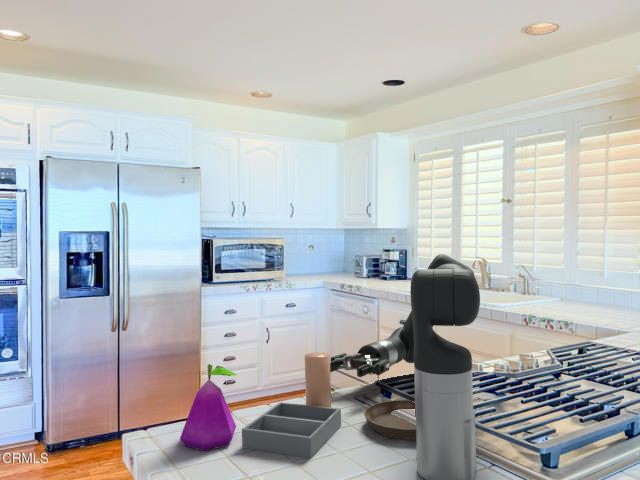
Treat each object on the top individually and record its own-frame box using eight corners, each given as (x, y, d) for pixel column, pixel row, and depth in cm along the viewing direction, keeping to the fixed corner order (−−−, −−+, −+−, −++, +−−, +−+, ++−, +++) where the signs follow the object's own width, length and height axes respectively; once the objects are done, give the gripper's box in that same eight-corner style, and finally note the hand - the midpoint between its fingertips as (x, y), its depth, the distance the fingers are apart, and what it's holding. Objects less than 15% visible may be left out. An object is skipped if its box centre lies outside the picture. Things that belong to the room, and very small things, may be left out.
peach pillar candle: (335, 411, 113) (333, 353, 113) (326, 419, 108) (324, 359, 107) (312, 408, 115) (310, 351, 115) (302, 417, 110) (300, 357, 110)
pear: (224, 454, 92) (222, 372, 92) (169, 451, 94) (167, 370, 94) (245, 431, 103) (243, 357, 103) (195, 428, 105) (193, 356, 105)
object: (362, 412, 112) (362, 399, 112) (442, 411, 111) (442, 398, 111) (366, 445, 94) (366, 429, 94) (462, 444, 94) (461, 428, 94)
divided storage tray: (341, 425, 104) (340, 408, 104) (311, 457, 89) (310, 438, 89) (280, 418, 109) (279, 402, 109) (242, 447, 94) (241, 429, 94)
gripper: (354, 339, 136) (318, 351, 123) (401, 345, 128) (368, 358, 115) (355, 367, 136) (319, 381, 123) (402, 374, 128) (369, 390, 115)
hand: (343, 370), depth 119 cm, fingers open, 8 cm apart
